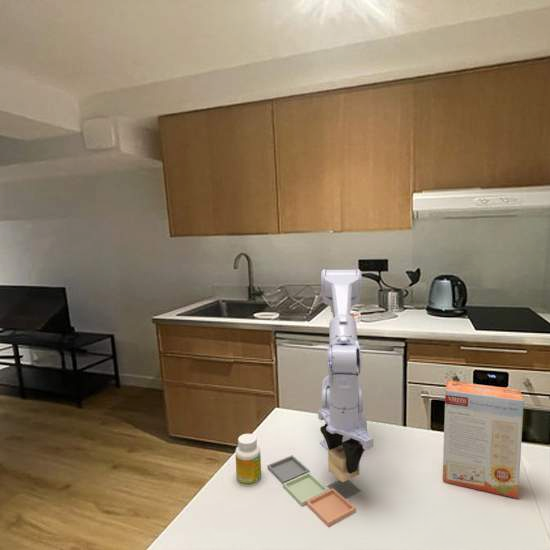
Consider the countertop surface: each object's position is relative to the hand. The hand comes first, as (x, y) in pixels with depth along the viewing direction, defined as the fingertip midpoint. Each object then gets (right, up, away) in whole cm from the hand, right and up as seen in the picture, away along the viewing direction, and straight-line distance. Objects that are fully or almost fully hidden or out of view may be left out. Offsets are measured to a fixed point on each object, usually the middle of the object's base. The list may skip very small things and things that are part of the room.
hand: (344, 464), depth 82 cm
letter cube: (0, -2, 0) cm, 2 cm away
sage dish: (-8, -6, +1) cm, 10 cm away
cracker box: (+29, -5, +2) cm, 29 cm away
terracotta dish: (-3, -7, -5) cm, 9 cm away
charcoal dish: (-11, -5, +7) cm, 14 cm away
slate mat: (0, -6, +1) cm, 6 cm away
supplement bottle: (-20, -6, +5) cm, 21 cm away
